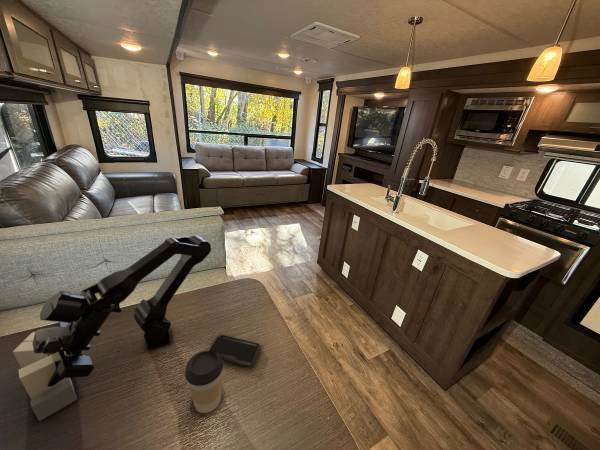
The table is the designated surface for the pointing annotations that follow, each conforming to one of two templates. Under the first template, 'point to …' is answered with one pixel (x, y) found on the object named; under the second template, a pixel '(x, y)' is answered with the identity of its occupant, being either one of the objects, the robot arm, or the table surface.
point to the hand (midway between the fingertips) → (48, 378)
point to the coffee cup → (205, 380)
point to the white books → (28, 352)
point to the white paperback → (40, 376)
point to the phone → (236, 350)
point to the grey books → (53, 400)
